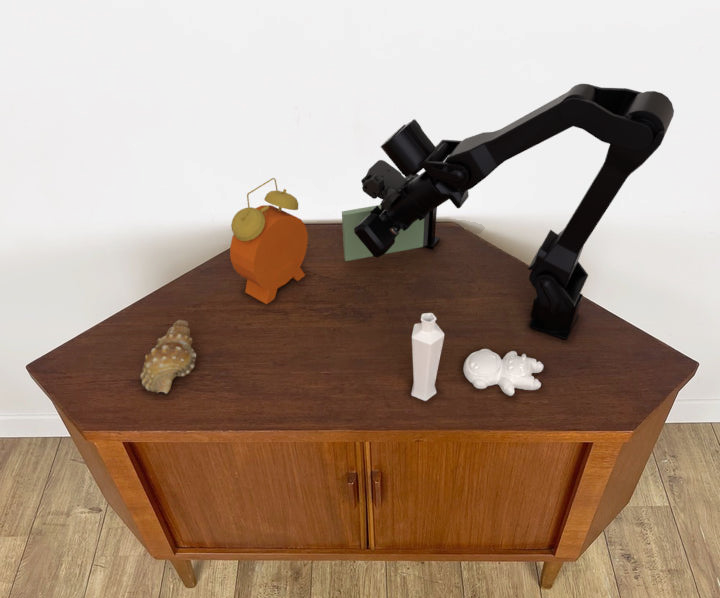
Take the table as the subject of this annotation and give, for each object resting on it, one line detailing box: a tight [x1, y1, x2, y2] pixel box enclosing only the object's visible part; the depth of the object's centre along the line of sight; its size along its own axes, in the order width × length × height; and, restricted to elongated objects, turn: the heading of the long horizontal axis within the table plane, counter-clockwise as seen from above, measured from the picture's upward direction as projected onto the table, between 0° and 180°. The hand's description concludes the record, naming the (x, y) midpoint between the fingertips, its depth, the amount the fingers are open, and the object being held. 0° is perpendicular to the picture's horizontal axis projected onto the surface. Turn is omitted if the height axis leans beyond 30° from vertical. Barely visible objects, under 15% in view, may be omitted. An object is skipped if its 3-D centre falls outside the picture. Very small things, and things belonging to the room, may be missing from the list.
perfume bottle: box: [410, 312, 445, 402], centre depth 96 cm, size 5×4×15 cm
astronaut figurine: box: [462, 348, 544, 397], centre depth 102 cm, size 9×12×3 cm
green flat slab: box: [341, 204, 429, 262], centre depth 121 cm, size 16×3×10 cm, turn 105°
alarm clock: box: [229, 177, 309, 305], centre depth 113 cm, size 13×6×20 cm, turn 141°
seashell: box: [140, 319, 197, 395], centre depth 104 cm, size 9×8×10 cm
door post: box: [422, 207, 440, 251], centre depth 124 cm, size 3×3×9 cm
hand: (366, 233), depth 119 cm, fingers closed
